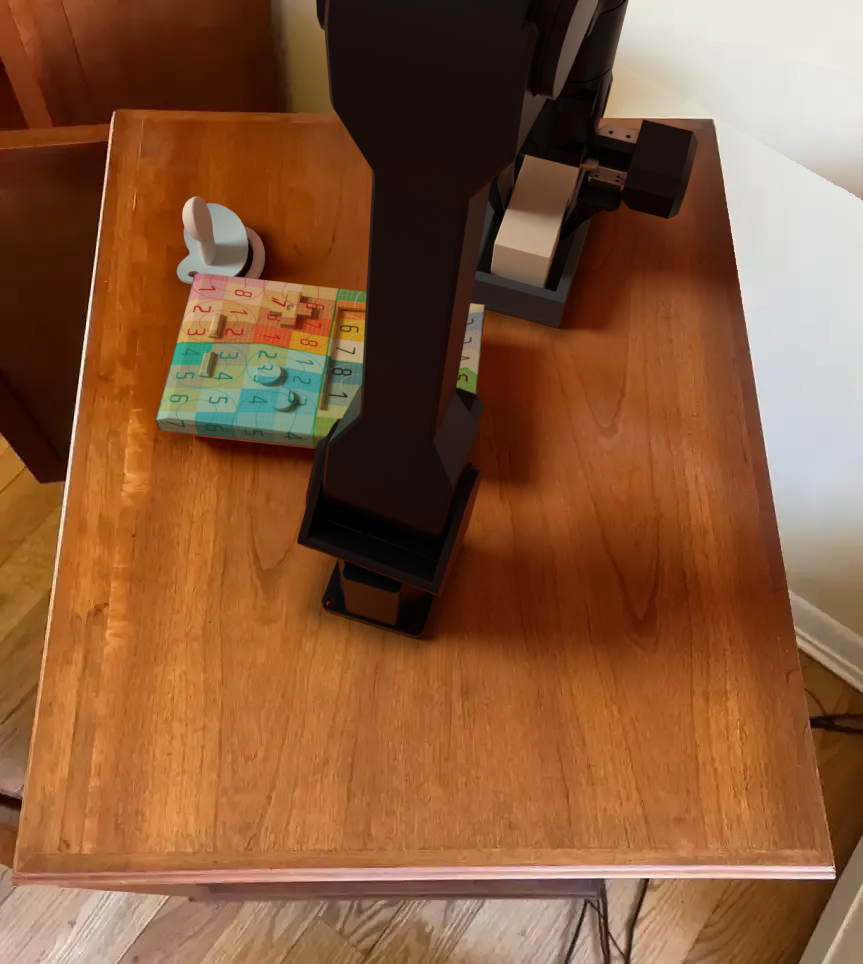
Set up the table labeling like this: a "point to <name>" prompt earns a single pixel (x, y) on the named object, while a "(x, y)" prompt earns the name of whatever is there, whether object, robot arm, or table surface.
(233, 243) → the pacifier
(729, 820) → the table surface
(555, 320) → the tray
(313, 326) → the puzzle game
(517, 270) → the block
